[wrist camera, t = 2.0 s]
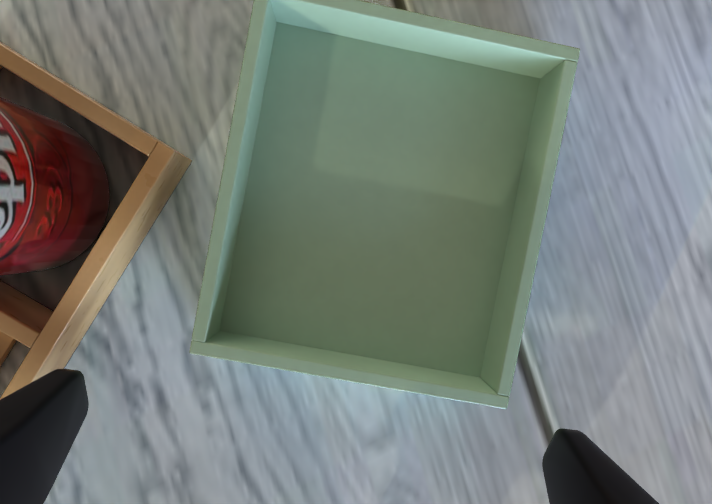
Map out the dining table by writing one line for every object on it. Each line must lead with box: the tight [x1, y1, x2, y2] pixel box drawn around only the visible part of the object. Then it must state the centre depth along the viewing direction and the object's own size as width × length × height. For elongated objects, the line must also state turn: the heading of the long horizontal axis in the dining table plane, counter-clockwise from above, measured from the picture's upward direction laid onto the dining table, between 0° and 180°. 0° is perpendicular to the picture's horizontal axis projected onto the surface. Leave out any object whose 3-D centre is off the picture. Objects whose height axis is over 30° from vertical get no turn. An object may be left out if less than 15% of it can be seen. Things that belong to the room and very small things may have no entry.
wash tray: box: [190, 0, 580, 409], centre depth 21 cm, size 16×14×3 cm
